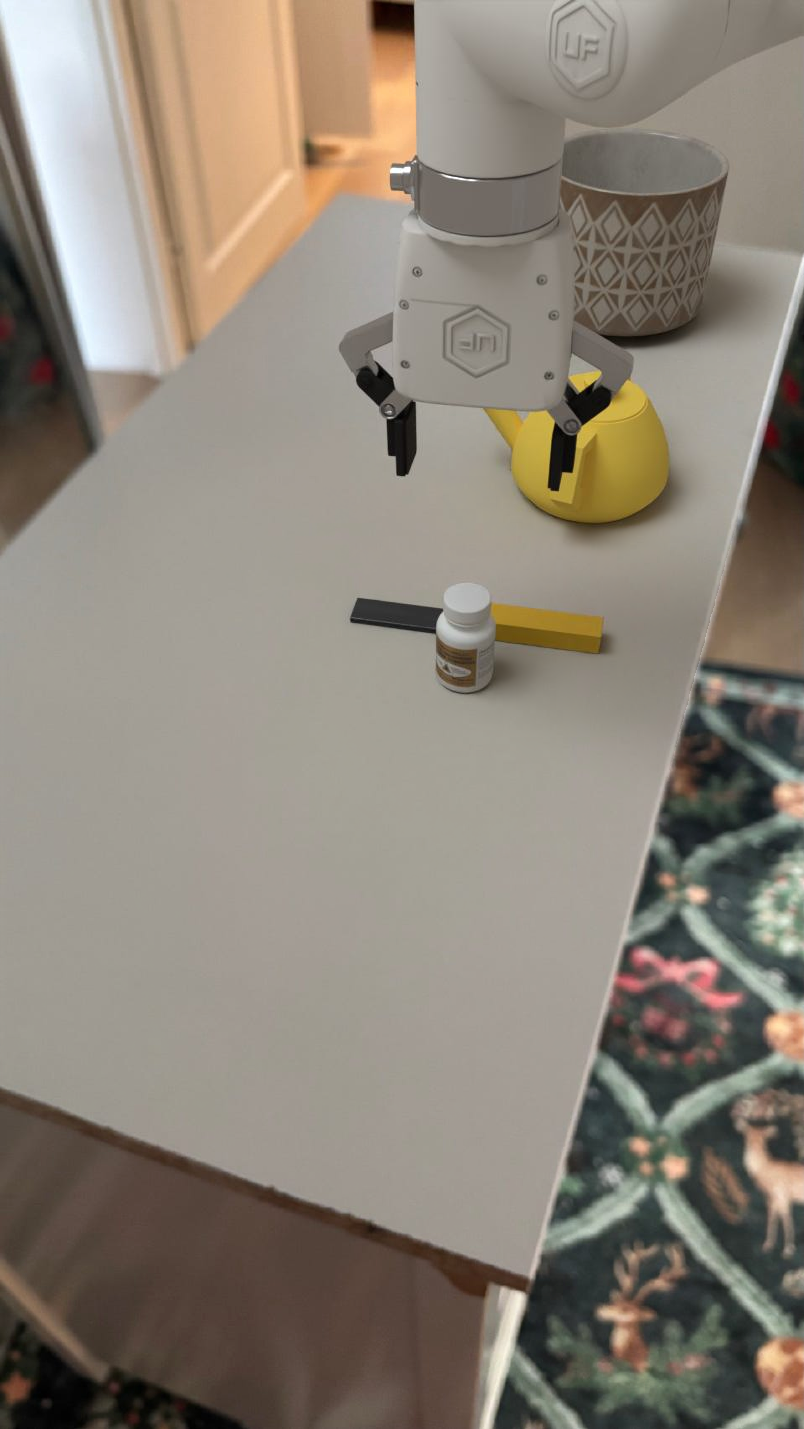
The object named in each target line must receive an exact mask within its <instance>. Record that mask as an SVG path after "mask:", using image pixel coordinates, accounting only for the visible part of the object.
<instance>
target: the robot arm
mask: <svg viewBox="0 0 804 1429" xmlns="http://www.w3.org/2000/svg"><path fill="white" fill-rule="evenodd" d="M413 10H414V11H413V12H414V13H413V14H414V18H413V19H414V63H415V64H414V69H415V71H414V72H415V73H414V77H415V78H414V80H415V128H416V129H415V133H416V134H415V137H416V138H415V140H416V142H415V143H416V154H415V155H414V156H413V158H412V159H411V160H406V161H405V162H404V163H398V162H397V163H396V162H393V163H392V164H391V166H390V170H389V188H390V190H391V191H394V192H403V193H404V195H410V199H411V201H413V205H414V206H413V208H412V209H411V210H410V211H409V212H408V214H407V215H406V216H405V217H404V219H403V220H402V224H401V229H400V235H399V241H398V248H397V257H396V263H395V264H396V265H395V278H394V290H393V311H392V312H389V313H386V314H385V315H383V316H382V315H381V316H380V317H377V318H375V319H374V320H372V321H368V322H367V323H364V324H362V325H360V326H358V327H356V328H353V329H351V330H349V331H347V332H345V333H344V335H343V337H342V338H341V340H340V342H339V345H338V350H339V353H340V356H342V358H343V360H344V362H345V363H346V365H347V367H348V369H349V371H350V372H351V373H352V374H353V375H354V377H355V383H356V386H357V387H358V388H359V389H360V390H361V391H362V392H363V393H364V394H365V395H366V396H367V397H368V398H369V399H370V400H371V401H373V403H374V404H375V405H376V406H378V412H379V415H380V416H381V417H382V418H384V419H386V420H385V423H386V442H387V444H386V446H387V447H386V448H387V455H388V457H395V475H396V477H406V476H408V475H409V474H410V471H411V469H412V466H413V463H414V461H415V458H416V455H417V451H418V442H417V441H418V440H417V439H418V438H417V436H418V435H417V434H418V432H417V403H423V404H429V405H430V404H432V405H442V406H452V407H464V408H475V409H483V408H485V409H497V410H510V411H516V412H525V413H528V412H529V413H530V412H539V411H545V410H546V411H547V412H548V413H549V414H550V416H551V417H552V418H553V419H554V421H555V424H554V428H553V433H552V439H551V451H550V463H549V476H548V488H550V489H551V491H558V492H559V488H560V483H561V478H562V473H563V472H565V473H573V469H574V462H575V454H576V444H577V434H578V433H579V432H580V430H581V427H582V426H583V425H584V424H586V423H587V422H589V421H590V420H591V419H593V418H594V417H595V416H597V415H598V414H599V413H601V412H602V411H604V410H605V409H606V408H607V407H608V406H609V405H610V403H611V400H612V399H613V397H614V396H615V395H616V394H617V393H618V392H619V390H620V389H621V387H622V386H623V385H624V383H625V382H626V381H627V379H628V378H629V377H630V375H631V376H632V373H633V371H634V364H635V363H634V362H635V358H634V355H632V353H630V352H629V351H627V350H625V349H624V348H622V347H620V346H619V345H618V344H615V343H614V342H612V341H611V340H609V339H607V338H605V337H604V336H603V335H601V334H597V333H595V332H593V331H592V330H590V329H588V328H587V327H585V326H583V325H582V324H580V323H578V322H576V321H575V320H574V300H575V275H574V253H573V241H572V232H571V225H570V218H569V216H568V214H567V213H566V212H565V211H564V210H562V209H559V203H560V190H561V176H562V163H563V149H564V138H565V133H566V123H567V122H566V120H569V121H573V122H575V123H579V124H582V125H586V126H589V127H594V128H603V129H615V128H623V127H627V126H629V125H633V124H637V123H639V122H641V121H644V120H646V119H647V118H649V117H651V116H653V115H654V114H656V113H659V111H661V110H663V109H665V108H666V107H667V106H669V105H670V104H672V103H674V102H675V101H677V100H678V99H680V98H681V97H683V96H684V95H686V94H687V93H689V92H690V91H691V90H693V89H694V88H696V87H697V86H699V85H700V84H702V83H704V82H705V81H707V80H709V79H710V78H712V77H714V76H716V75H717V74H719V73H721V72H723V71H724V70H726V69H728V68H729V67H731V66H734V65H735V64H737V63H739V62H742V61H743V60H744V61H745V60H746V59H748V58H751V57H753V56H755V55H757V54H760V53H763V52H765V51H767V50H770V49H772V48H775V47H778V46H781V45H783V44H785V43H789V42H791V41H793V40H796V39H798V38H801V37H804V0H413ZM390 343H392V346H391V347H392V348H391V351H392V352H391V366H392V367H391V369H392V375H391V374H390V373H389V372H388V371H387V370H386V369H385V368H384V367H383V366H382V365H381V364H380V363H379V362H378V361H376V360H375V359H374V355H373V353H372V351H374V350H376V349H378V348H380V347H384V346H385V345H388V344H390ZM573 355H574V356H575V357H577V358H579V359H581V360H583V361H584V362H585V363H588V364H590V365H591V366H593V367H594V368H595V369H598V371H601V372H602V373H601V375H600V377H599V378H598V379H597V380H596V381H594V382H593V383H592V384H590V385H589V386H588V387H587V388H585V389H584V390H583V391H581V392H579V391H578V390H577V388H576V387H575V386H574V385H573V383H572V382H571V381H570V379H569V378H568V377H569V373H570V366H571V358H572V356H573Z"/></svg>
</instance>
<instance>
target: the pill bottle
mask: <svg viewBox="0 0 804 1429" xmlns="http://www.w3.org/2000/svg"><path fill="white" fill-rule="evenodd" d="M443 593H444V594H443V596H442V608H443V612H442V613H441V615H440V616H439V618H438V620H437V625H436V633H435V675H436V678H437V680H438V682H439V683H440V684H441V685H442V686H443V687H445V688H447V689H448V690H450V691H453V692H457V693H474V692H478V691H480V690H482V689H484V688H485V687H486V686H488V684H489V683H490V682H491V680H492V678H493V674H494V663H495V648H496V640H495V635H496V623H495V620H494V618H493V616H492V614H491V613H490V612H491V603H492V596H491V592H490V591H489V590H488V589H487V588H486V587H484V586H483V585H481V584H479V583H474V582H458V583H456V584H453V585H451V586H449V587H447V589H446V590H445V592H443Z"/></svg>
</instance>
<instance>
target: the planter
mask: <svg viewBox="0 0 804 1429" xmlns="http://www.w3.org/2000/svg"><path fill="white" fill-rule="evenodd" d="M729 171H730V162H729V160H728V158H727V156H726V155H725V154H724V153H723V152H722V151H721V150H720V149H718V148H717V147H715V146H713V145H712V144H709V143H708V142H705V141H703V140H700V139H697V138H695V137H692V136H688V135H684V134H680V133H675V132H671V131H664V130H657V129H646V128H631V127H630V128H629V127H628V128H626V127H625V128H623V127H618V128H603V129H595V130H589V131H582V132H579V133H575V134H571V135H568V136H566V137H565V136H564V149H563V163H562V176H561V190H560V203H559V209H562V210H564V211H565V212H566V213H567V214H568V216H569V218H570V225H571V232H572V241H573V253H574V275H575V300H574V320H575V321H576V322H578V323H580V324H582V325H583V326H585V327H587V328H588V329H590V330H592V331H593V332H595V333H597V334H598V335H600V336H610V337H611V336H612V337H641V336H651V335H657V334H661V333H666V332H670V331H672V330H675V329H678V328H680V327H682V326H684V325H686V324H687V323H689V322H691V321H692V320H693V319H694V318H695V317H696V316H697V315H698V314H699V312H700V311H701V309H702V306H703V305H704V304H703V303H704V299H705V295H706V294H705V293H706V290H707V285H708V284H707V283H708V278H709V272H710V268H711V263H712V257H713V252H714V247H715V242H716V237H717V232H718V229H719V228H718V227H719V223H720V216H721V212H722V205H723V202H724V196H725V192H726V186H727V182H728V176H729Z"/></svg>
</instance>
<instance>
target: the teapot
mask: <svg viewBox="0 0 804 1429" xmlns="http://www.w3.org/2000/svg"><path fill="white" fill-rule="evenodd" d="M601 373H602V372H601V371H600V370H592V371H589V372H583V373H576V374H573V375H570V376H569V375H568V378H569V379H570V381H571V382H572V383H573V385H574V386H575V387H576V388H577V390H578V391H579V392H581V391H583V390H584V389H585V388H587V387H588V386H589V385H590V384H592V383H593V382H594V381H596V380H597V379H598V378H599V377H600V375H601ZM631 376H632V374H631V375H630V377H629V378H628V379H627V381H626V382H625V383H624V385H623V386H622V387H621V389H620V390H619V392H618V393H617V394H616V395H615V396H614V397H613V399H612V400H611V403H610V405H609V406H608V407H607V408H606V409H605V410H604V411H602V412H601V413H599V414H598V415H597V416H595V417H594V418H593V419H591V420H590V421H589V422H587V423H586V424H584V425H583V426H582V427H581V430H580V432H579V433H578V434H577V444H576V454H575V462H574V469H573V473H565V472H563V473H562V478H561V483H560V488H559V492H558V491H551V489H550V488H548V476H549V463H550V451H551V439H552V433H553V428H554V424H555V421H554V419H553V418H552V417H551V416H550V414H549V413H548V412H547V411H546V410H545V411H539V412H529V414H528V415H527V417H526V418H525V420H524V421H523V419H521V416H520V415H519V414H518V411H510V410H497V409H485V408H482V410H483V411H484V412H485V413H486V415H487V416H488V418H489V420H490V421H491V422H492V424H493V425H494V427H495V429H496V430H497V431H498V433H499V434H500V435H501V437H502V439H503V440H504V441H505V443H506V444H507V445H508V447H509V448H510V450H511V451H512V452H511V457H510V458H511V460H510V471H511V474H512V477H513V481H514V482H515V484H516V486H517V487H518V489H519V490H520V491H521V492H522V493H523V495H524V496H525V497H527V499H528V500H530V502H531V503H532V504H534V505H535V506H536V507H537V508H538V509H540V510H541V511H543V512H545V513H547V514H549V515H551V516H554V517H556V518H559V519H563V520H565V521H566V520H567V521H570V522H576V523H585V524H601V523H604V524H605V523H610V522H615V521H620V520H622V519H626V518H628V517H631V516H633V515H634V514H636V513H638V512H640V511H641V510H642V509H644V508H646V507H647V506H649V505H650V504H651V503H652V502H653V501H654V500H656V499H657V498H658V497H659V495H660V494H661V493H662V492H663V490H664V488H665V486H666V484H667V483H668V482H667V481H668V479H669V478H668V476H669V471H670V453H669V445H668V440H667V436H666V432H665V428H664V427H663V424H662V421H661V419H660V418H659V415H658V413H657V411H656V409H655V407H654V405H653V404H652V401H651V400H650V398H649V396H648V395H647V393H646V392H645V391H644V390H643V389H642V388H641V387H640V386H639V385H638V384H637V383H635V382H633V381H632V380H631V378H632V377H631Z"/></svg>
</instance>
